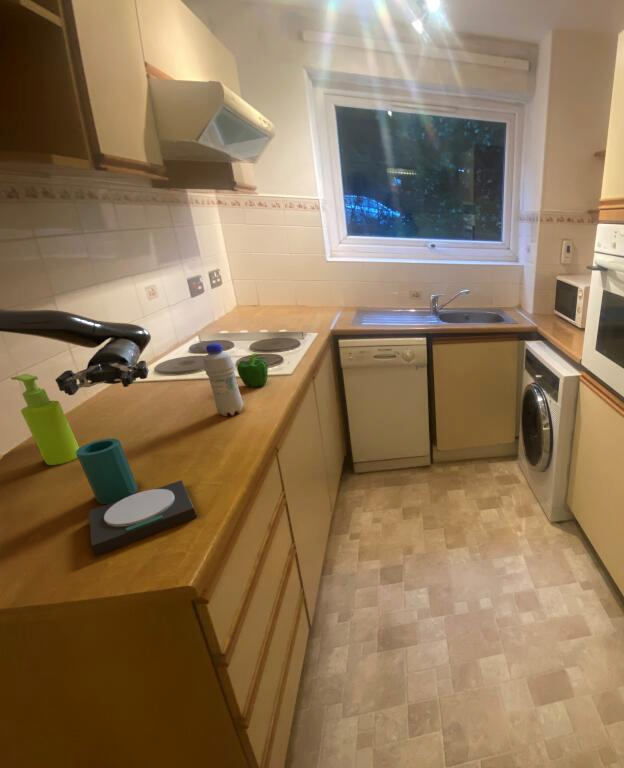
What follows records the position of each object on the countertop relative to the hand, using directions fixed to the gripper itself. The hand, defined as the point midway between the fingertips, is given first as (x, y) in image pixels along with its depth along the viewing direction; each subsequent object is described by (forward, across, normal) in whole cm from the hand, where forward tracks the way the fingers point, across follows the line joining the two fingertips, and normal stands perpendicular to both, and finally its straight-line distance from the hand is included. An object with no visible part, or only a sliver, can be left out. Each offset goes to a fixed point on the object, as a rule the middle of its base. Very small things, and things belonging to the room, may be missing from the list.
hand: (97, 386), depth 88 cm
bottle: (-20, -19, -20) cm, 34 cm away
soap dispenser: (-12, +14, -20) cm, 27 cm away
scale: (+23, -6, -19) cm, 31 cm away
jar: (+11, 0, -19) cm, 22 cm away
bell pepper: (-39, -26, -20) cm, 51 cm away
